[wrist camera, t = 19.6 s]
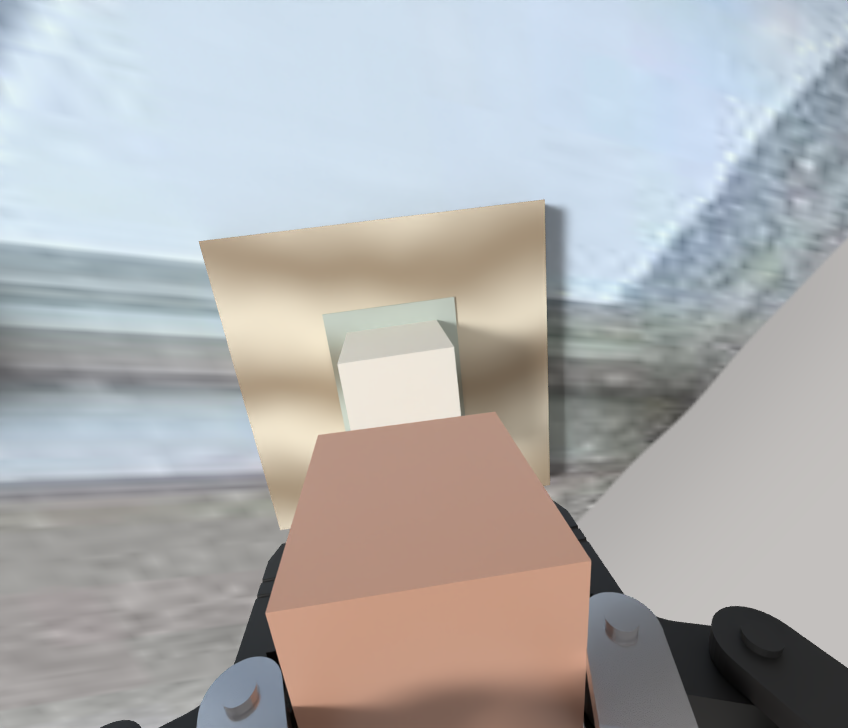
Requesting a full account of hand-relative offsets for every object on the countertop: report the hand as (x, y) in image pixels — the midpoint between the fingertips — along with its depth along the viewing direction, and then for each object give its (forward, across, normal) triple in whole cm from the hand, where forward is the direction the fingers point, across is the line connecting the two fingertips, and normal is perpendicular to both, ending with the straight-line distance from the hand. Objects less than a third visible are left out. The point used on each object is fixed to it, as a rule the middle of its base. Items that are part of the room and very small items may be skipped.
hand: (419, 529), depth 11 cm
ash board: (+13, 0, 0) cm, 13 cm away
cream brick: (+11, 0, 0) cm, 11 cm away
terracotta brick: (0, 0, 0) cm, 0 cm away
